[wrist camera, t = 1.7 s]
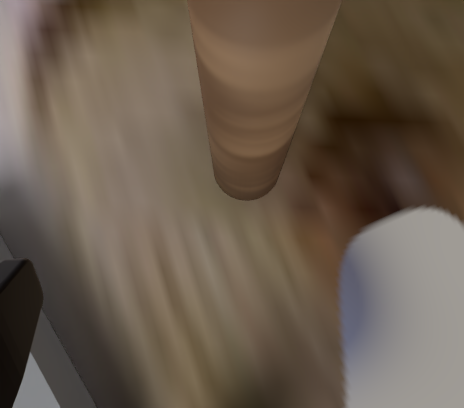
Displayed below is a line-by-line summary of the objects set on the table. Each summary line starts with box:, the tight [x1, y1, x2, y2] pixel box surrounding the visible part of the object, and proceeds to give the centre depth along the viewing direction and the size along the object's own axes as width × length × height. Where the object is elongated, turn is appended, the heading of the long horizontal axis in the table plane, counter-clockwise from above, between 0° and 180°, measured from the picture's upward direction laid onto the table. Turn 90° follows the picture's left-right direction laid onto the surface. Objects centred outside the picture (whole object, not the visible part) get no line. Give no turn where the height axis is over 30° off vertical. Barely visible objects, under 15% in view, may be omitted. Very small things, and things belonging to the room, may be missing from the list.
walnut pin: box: [187, 0, 342, 200], centre depth 15 cm, size 3×3×13 cm
